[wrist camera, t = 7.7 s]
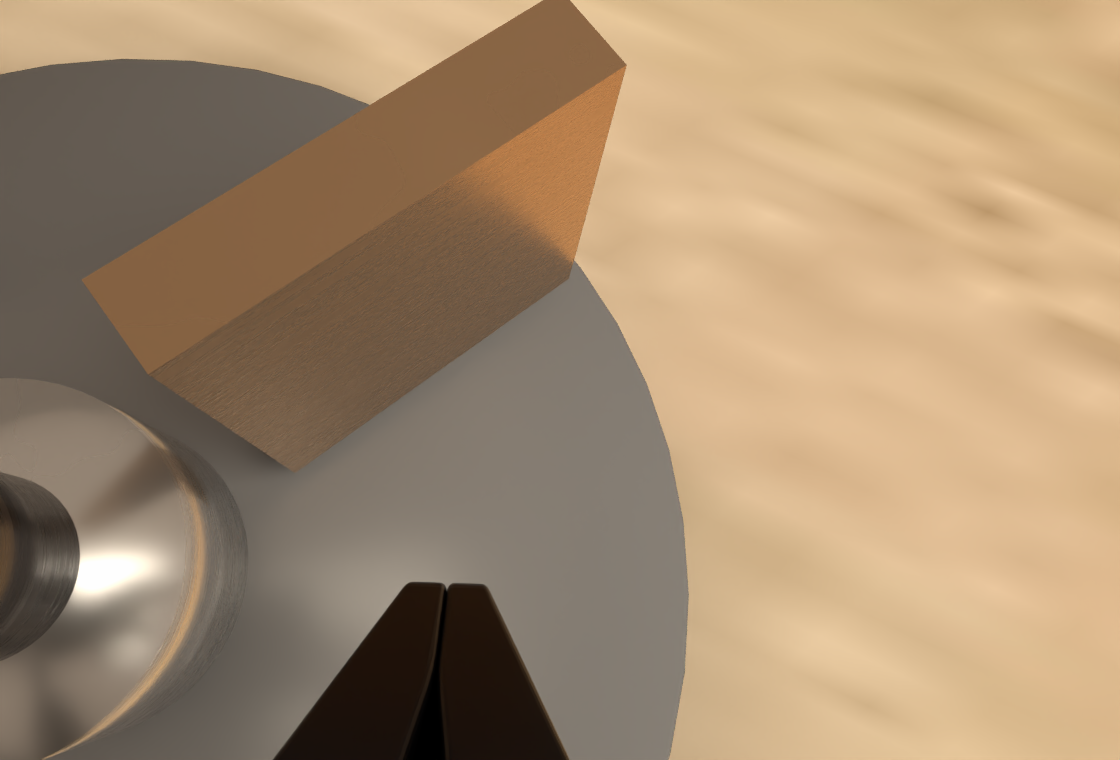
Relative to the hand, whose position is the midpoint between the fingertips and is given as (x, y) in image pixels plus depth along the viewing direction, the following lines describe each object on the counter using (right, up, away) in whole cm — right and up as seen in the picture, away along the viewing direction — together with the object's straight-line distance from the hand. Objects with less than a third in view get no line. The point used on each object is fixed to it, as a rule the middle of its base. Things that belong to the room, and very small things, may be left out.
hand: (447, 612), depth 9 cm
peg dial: (-7, -1, +5) cm, 8 cm away
